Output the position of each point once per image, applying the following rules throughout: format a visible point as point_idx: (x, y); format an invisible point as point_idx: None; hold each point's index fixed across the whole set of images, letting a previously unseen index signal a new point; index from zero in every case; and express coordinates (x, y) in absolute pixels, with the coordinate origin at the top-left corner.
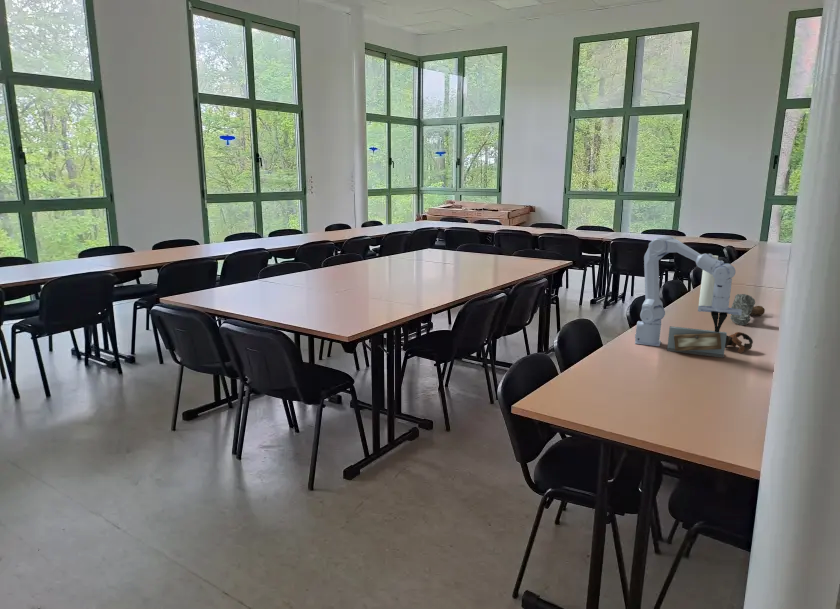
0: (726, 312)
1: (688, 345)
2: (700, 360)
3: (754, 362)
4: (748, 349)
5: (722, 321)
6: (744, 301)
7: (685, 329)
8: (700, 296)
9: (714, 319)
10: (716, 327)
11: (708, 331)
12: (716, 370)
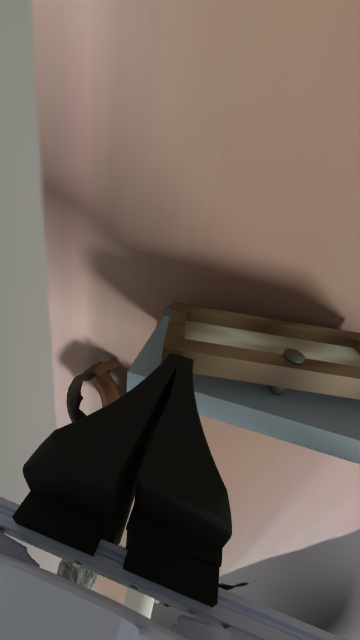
0: (21, 534)
1: (312, 344)
2: (272, 248)
3: (79, 275)
4: (88, 368)
5: (118, 406)
6: (73, 574)
7: (351, 435)
8: (152, 599)
9: (192, 442)
10: (181, 376)
11: (217, 399)
12: (247, 64)
